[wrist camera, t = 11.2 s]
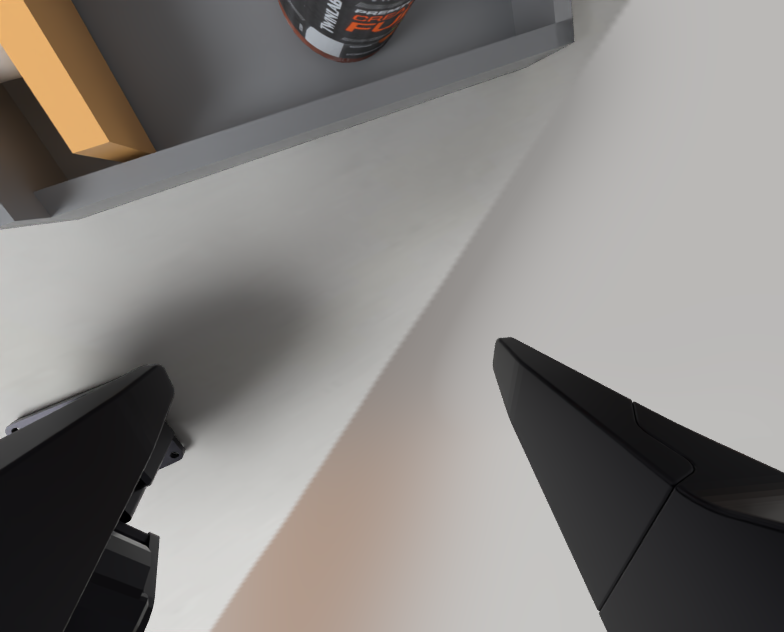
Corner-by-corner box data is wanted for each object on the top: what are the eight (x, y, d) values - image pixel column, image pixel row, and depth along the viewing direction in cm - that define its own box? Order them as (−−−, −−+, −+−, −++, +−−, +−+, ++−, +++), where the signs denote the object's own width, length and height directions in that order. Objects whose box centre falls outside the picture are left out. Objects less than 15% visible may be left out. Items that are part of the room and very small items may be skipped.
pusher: (72, 184, 15) (-15, 180, 11) (-94, -59, 12) (-320, -209, 7) (158, 156, 16) (109, 142, 11) (23, -84, 12) (-122, -237, 8)
